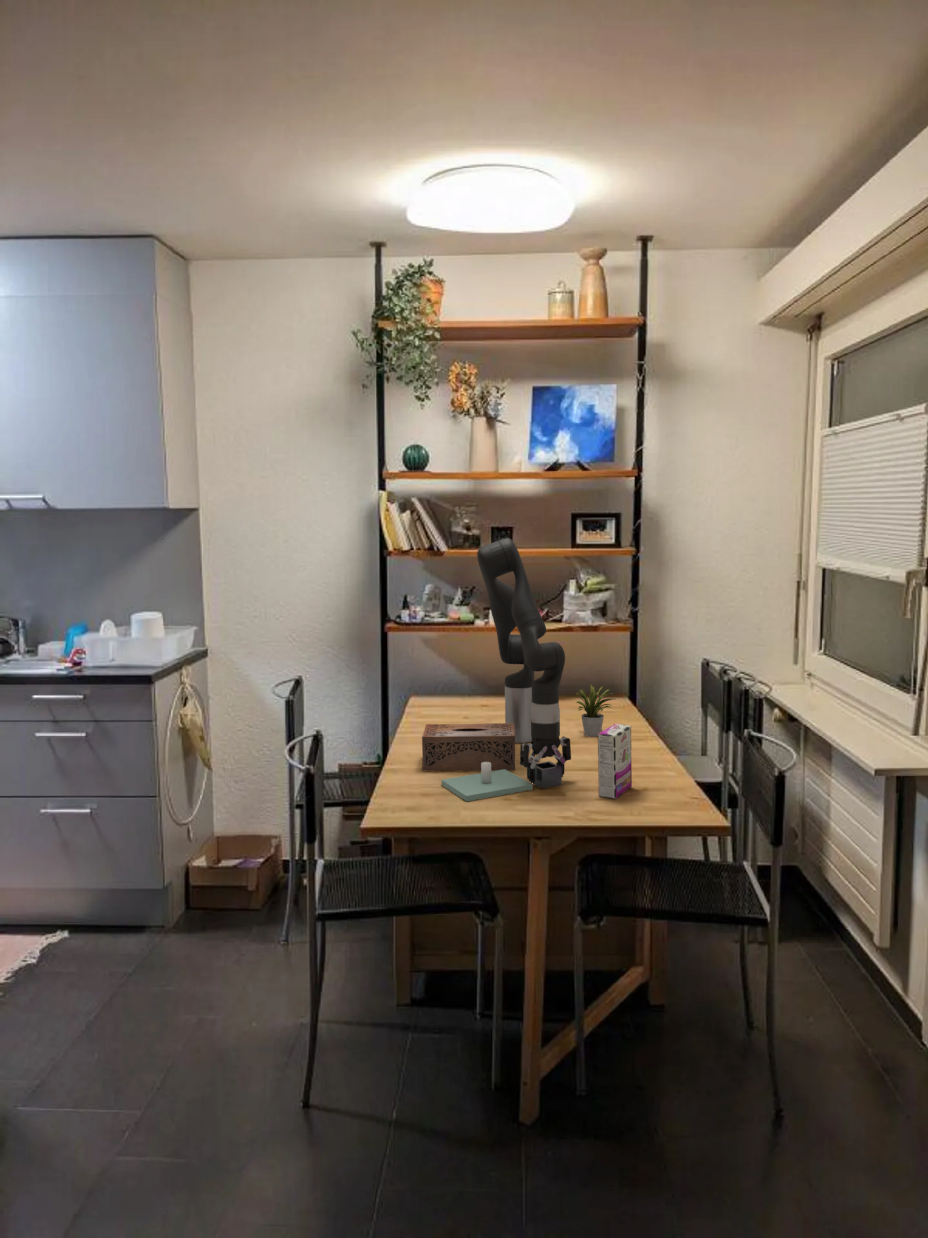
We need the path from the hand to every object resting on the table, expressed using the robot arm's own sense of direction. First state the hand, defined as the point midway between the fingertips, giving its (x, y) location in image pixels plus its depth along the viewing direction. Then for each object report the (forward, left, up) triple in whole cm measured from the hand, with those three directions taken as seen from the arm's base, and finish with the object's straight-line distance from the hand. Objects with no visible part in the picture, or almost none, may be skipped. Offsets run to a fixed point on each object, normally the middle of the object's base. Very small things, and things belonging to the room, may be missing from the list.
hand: (545, 779), depth 230 cm
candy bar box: (-12, +14, -2) cm, 19 cm away
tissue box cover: (+9, -27, -2) cm, 29 cm away
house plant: (-38, -35, -2) cm, 52 cm away
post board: (+15, -5, -1) cm, 16 cm away
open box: (0, 0, -1) cm, 1 cm away
